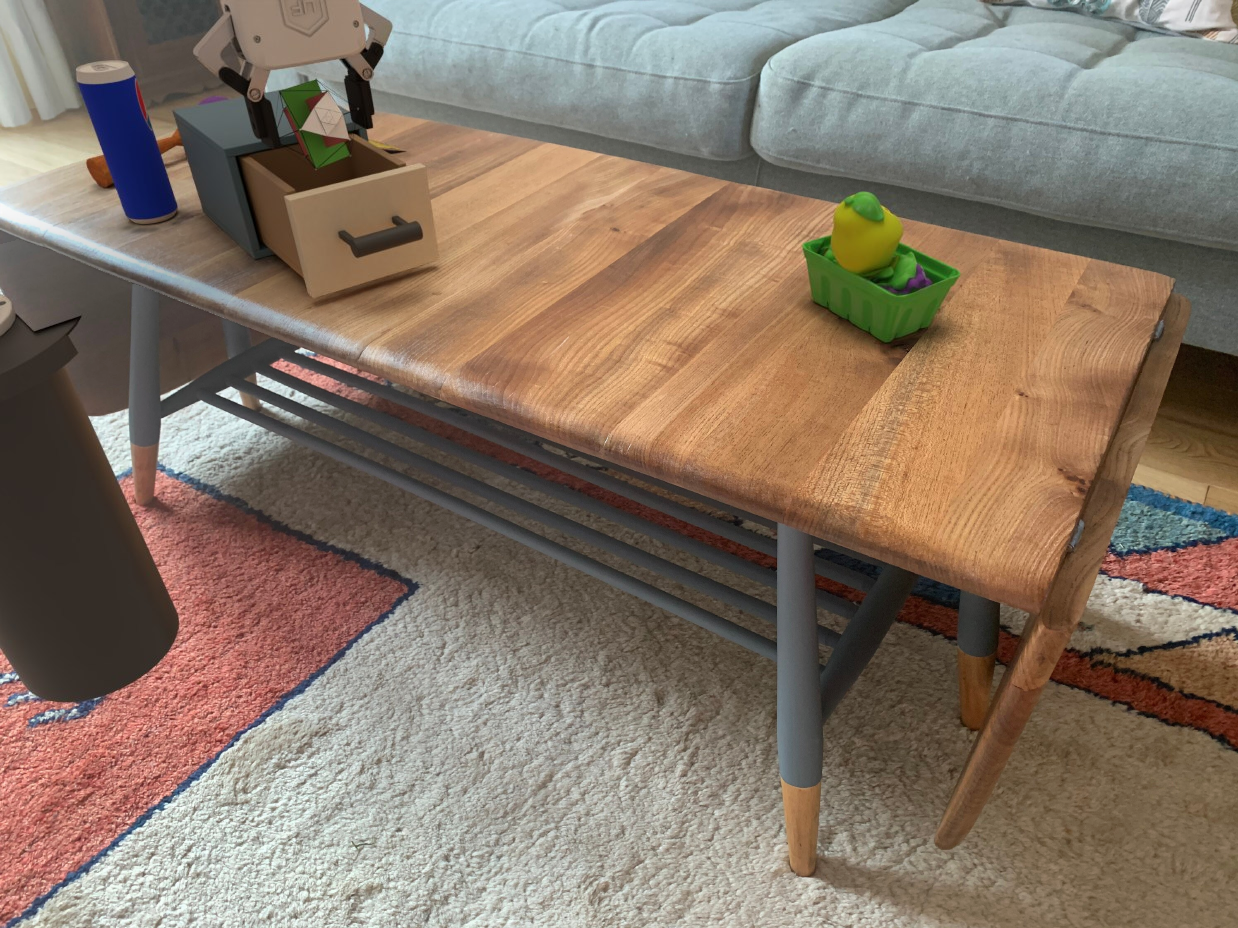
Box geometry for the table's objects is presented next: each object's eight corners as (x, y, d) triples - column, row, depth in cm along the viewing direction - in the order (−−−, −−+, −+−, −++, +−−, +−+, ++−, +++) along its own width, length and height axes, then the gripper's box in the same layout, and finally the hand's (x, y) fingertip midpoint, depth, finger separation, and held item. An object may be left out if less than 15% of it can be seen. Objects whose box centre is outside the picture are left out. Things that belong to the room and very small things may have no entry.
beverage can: (187, 215, 95) (140, 65, 86) (139, 229, 92) (84, 76, 83) (167, 203, 98) (118, 57, 89) (119, 216, 95) (64, 66, 86)
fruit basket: (953, 329, 74) (985, 195, 67) (875, 359, 70) (900, 221, 63) (855, 277, 81) (875, 153, 75) (780, 303, 78) (793, 174, 71)
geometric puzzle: (246, 138, 79) (265, 67, 73) (305, 117, 83) (328, 49, 77) (303, 198, 79) (327, 132, 73) (359, 174, 83) (386, 110, 77)
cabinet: (384, 224, 93) (365, 119, 86) (254, 260, 86) (223, 149, 80) (323, 182, 102) (302, 85, 96) (203, 211, 96) (171, 110, 90)
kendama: (69, 147, 101) (215, 91, 113) (98, 198, 104) (237, 138, 117) (95, 146, 98) (242, 88, 110) (123, 199, 101) (263, 137, 113)
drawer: (462, 275, 81) (450, 179, 75) (333, 317, 75) (310, 216, 69) (371, 213, 93) (355, 127, 87) (253, 245, 87) (228, 154, 81)
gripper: (164, -86, 61) (234, 168, 72) (395, -105, 70) (427, 126, 80) (134, -95, 66) (204, 145, 77) (354, -111, 74) (389, 107, 85)
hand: (318, 134), depth 79 cm, fingers closed on geometric puzzle, 7 cm apart
